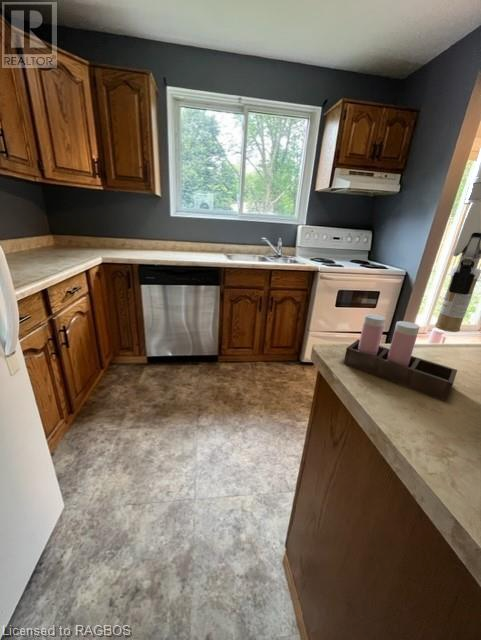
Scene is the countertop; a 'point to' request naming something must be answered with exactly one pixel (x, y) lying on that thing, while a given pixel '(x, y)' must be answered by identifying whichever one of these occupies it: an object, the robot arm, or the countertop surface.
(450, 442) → the countertop surface
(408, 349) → the pink bottle
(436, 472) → the countertop surface
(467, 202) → the robot arm
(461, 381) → the countertop surface
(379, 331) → the pink bottle
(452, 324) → the sprinkles bottle
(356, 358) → the spice rack
